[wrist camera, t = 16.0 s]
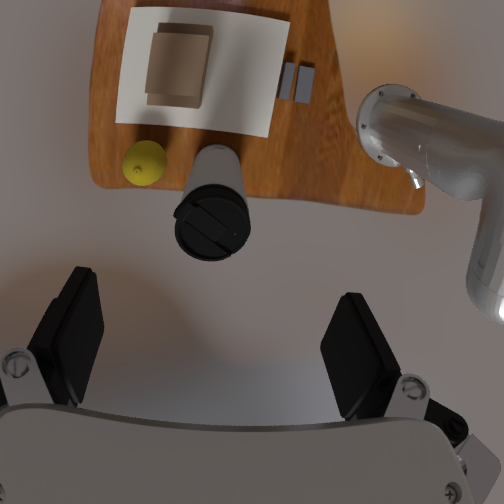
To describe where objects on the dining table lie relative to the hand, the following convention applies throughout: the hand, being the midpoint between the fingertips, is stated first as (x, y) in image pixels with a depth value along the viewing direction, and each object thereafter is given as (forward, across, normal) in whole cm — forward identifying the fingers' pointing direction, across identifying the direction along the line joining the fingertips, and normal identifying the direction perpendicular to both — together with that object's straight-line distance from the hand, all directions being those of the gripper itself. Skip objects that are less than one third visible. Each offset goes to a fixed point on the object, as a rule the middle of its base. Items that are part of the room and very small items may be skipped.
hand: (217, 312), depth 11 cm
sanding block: (+32, +6, -9) cm, 34 cm away
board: (+33, +4, -9) cm, 35 cm away
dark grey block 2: (+32, -10, -9) cm, 35 cm away
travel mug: (+34, 0, +4) cm, 34 cm away
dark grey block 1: (+32, -8, -9) cm, 35 cm away
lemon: (+34, +9, +3) cm, 35 cm away
